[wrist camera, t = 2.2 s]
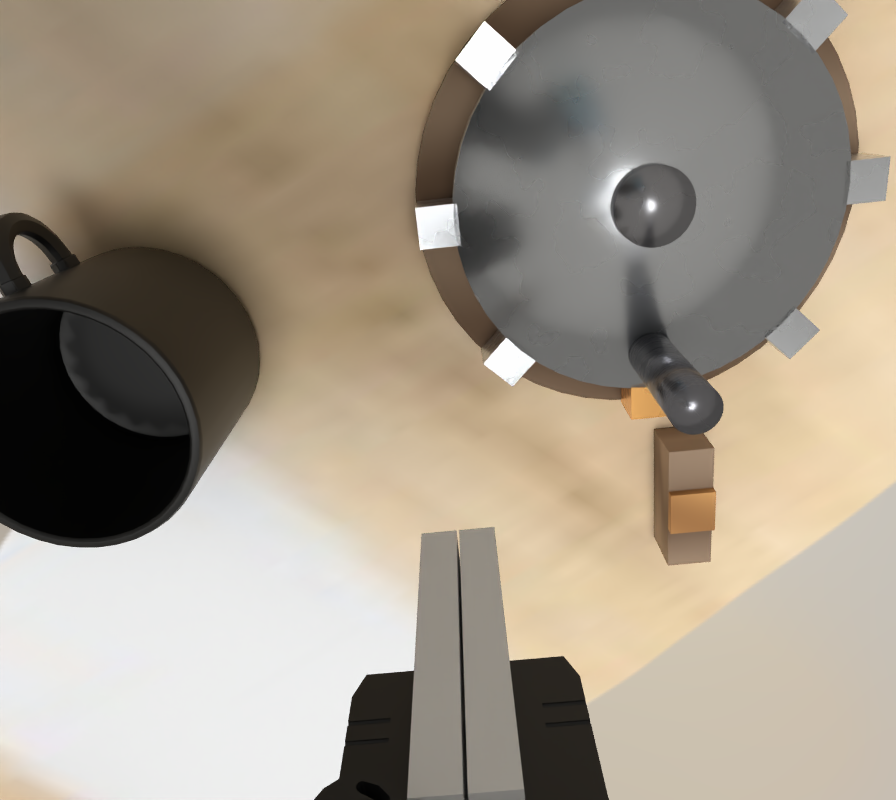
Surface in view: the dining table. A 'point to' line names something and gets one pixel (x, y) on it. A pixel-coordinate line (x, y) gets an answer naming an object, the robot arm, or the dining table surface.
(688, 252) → the sprocket
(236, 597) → the dining table surface
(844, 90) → the sprocket base
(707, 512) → the rail
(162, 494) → the mug
